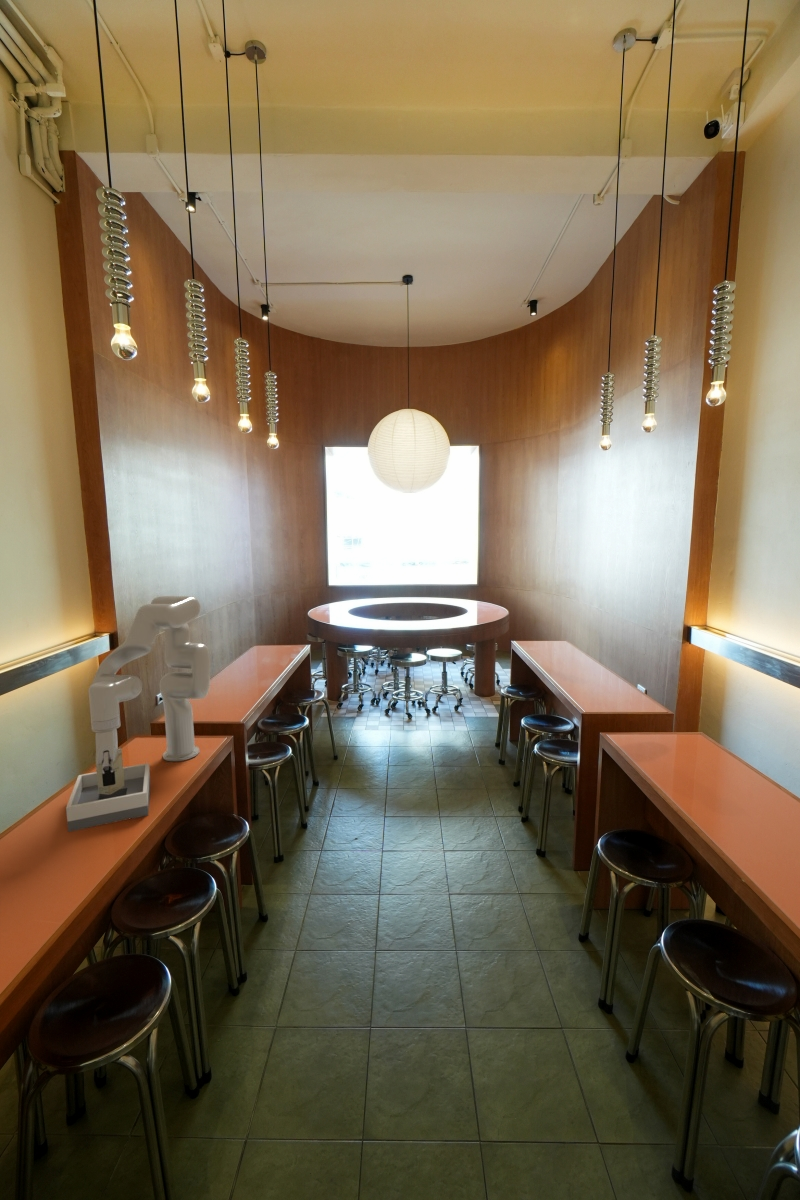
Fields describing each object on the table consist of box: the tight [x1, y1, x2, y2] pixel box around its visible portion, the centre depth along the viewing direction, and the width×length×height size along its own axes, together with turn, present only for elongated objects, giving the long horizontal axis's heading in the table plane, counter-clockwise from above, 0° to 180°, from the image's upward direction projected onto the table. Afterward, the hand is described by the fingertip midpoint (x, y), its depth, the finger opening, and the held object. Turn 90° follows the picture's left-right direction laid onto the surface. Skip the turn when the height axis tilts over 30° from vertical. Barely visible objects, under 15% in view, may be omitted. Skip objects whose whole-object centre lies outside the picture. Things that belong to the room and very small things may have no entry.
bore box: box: [65, 762, 151, 833], centre depth 157 cm, size 22×20×7 cm
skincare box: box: [94, 747, 125, 795], centre depth 156 cm, size 6×4×12 cm
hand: (110, 779), depth 156 cm, fingers closed on skincare box, 7 cm apart
